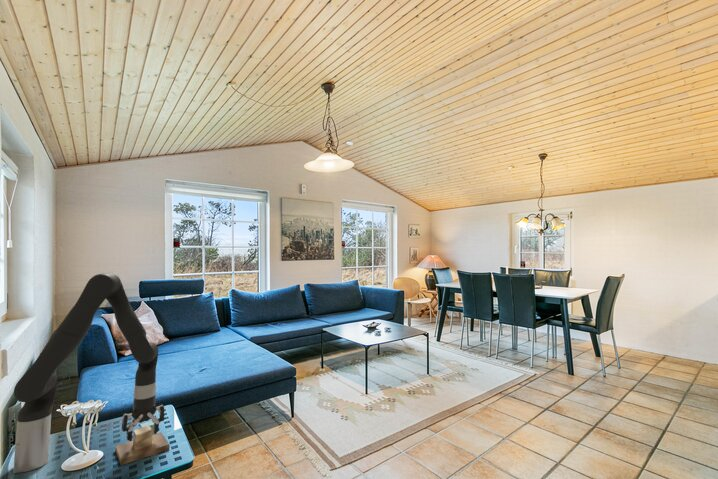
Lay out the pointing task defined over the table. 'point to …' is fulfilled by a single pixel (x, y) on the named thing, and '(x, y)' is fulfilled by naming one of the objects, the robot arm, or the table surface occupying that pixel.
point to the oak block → (142, 437)
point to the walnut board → (129, 454)
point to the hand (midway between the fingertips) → (143, 436)
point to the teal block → (148, 425)
